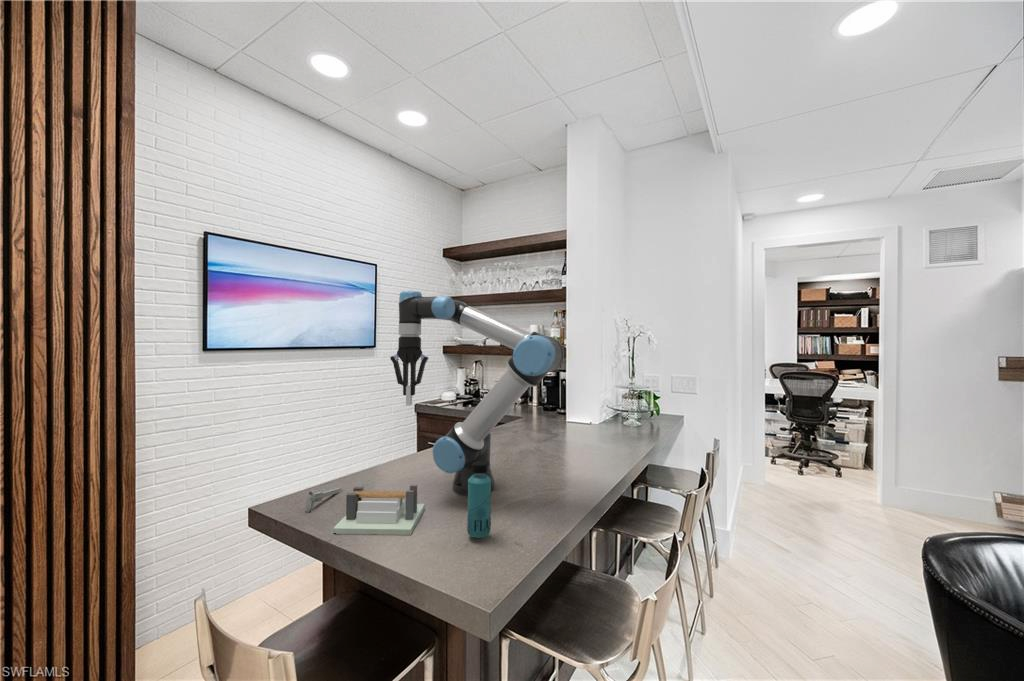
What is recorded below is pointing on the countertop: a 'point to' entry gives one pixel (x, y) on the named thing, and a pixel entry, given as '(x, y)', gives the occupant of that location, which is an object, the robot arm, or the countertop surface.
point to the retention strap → (380, 494)
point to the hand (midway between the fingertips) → (408, 404)
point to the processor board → (380, 527)
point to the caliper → (318, 497)
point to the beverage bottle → (479, 502)
